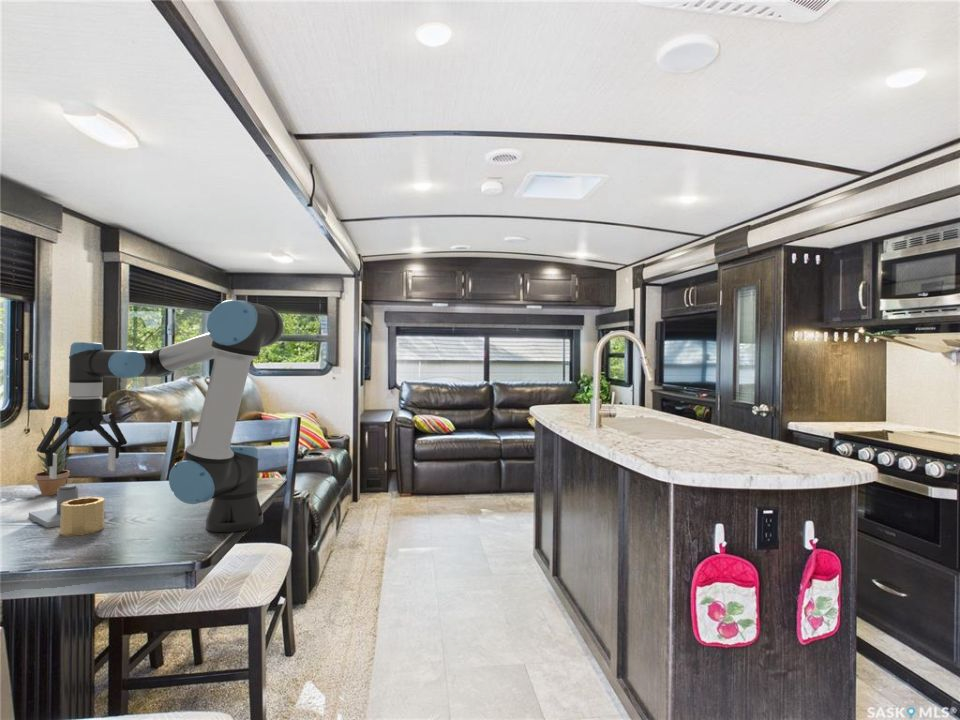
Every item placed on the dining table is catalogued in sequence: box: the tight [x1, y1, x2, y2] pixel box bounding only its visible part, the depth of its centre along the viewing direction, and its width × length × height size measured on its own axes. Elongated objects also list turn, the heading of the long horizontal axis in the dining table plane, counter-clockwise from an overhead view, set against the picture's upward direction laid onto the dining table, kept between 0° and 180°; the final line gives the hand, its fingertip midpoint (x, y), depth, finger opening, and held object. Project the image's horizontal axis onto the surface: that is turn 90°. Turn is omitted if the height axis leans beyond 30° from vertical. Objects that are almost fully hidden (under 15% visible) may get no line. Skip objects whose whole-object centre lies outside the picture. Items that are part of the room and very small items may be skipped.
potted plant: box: [34, 427, 72, 496], centre depth 183 cm, size 10×10×25 cm
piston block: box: [28, 484, 106, 529], centre depth 156 cm, size 16×14×9 cm
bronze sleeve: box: [59, 496, 106, 537], centre depth 144 cm, size 9×9×8 cm
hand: (83, 474), depth 144 cm, fingers open, 13 cm apart
